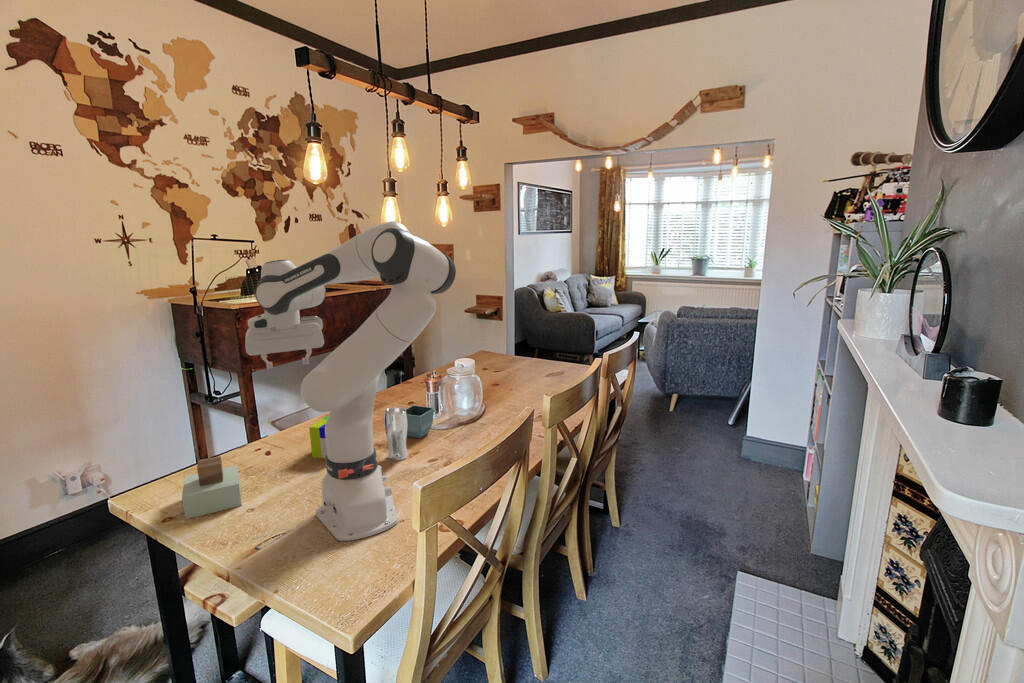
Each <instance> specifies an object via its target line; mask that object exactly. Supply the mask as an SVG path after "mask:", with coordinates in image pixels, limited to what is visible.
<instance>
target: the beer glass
mask: <svg viewBox="0 0 1024 683" xmlns="http://www.w3.org/2000/svg"><path fill="white" fill-rule="evenodd" d="M406 409H407V408H404V407H400V406H397V407H396V406H395V407H390V408H386V409H385V410H384V411H383V416H384V419H383V421H384V423H383V424H384V431H385V436H386V439H387V445H388V453H387V458H388V460H390V461H395V462H396V461H403V460H406V459H407V458H408V457H409V452H408V448H407V438H408V435H407V431H408V420H407V413H406Z"/></svg>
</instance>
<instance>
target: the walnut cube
mask: <svg viewBox="0 0 1024 683" xmlns="http://www.w3.org/2000/svg"><path fill="white" fill-rule="evenodd" d="M222 468H223V462H222V456H221V455H218V456H213V457H208V458H203V459H199V460H197V466H196V469H197V474H198V477H199V483H200V486H205V485H209V484H214V483H218V482H223V469H222Z"/></svg>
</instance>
